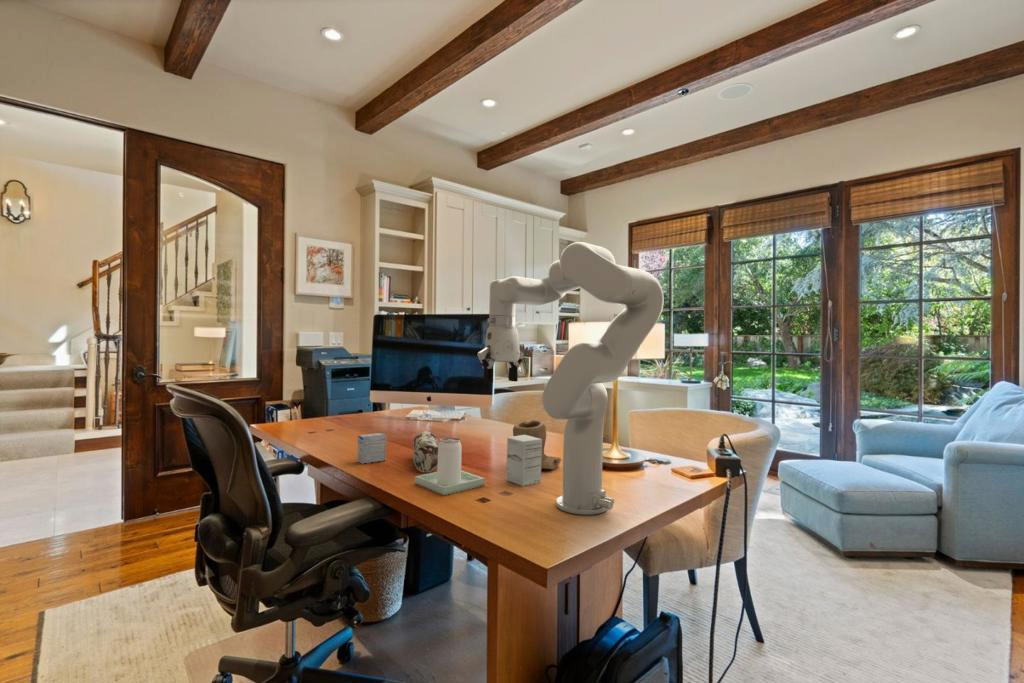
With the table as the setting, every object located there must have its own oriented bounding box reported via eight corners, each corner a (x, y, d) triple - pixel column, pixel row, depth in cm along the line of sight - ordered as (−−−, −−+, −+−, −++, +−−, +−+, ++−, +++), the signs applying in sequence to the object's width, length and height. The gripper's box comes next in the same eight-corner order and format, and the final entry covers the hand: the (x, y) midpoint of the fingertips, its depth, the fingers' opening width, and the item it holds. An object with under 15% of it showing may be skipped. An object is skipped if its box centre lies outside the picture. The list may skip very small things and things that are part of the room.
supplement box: (505, 480, 139) (506, 436, 139) (524, 476, 144) (525, 434, 144) (522, 487, 134) (523, 441, 134) (541, 482, 139) (542, 438, 139)
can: (462, 480, 137) (463, 437, 137) (458, 487, 130) (459, 442, 130) (440, 479, 137) (441, 437, 137) (434, 486, 131) (435, 441, 131)
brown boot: (506, 471, 150) (507, 422, 150) (515, 462, 161) (516, 416, 161) (555, 475, 146) (556, 425, 146) (561, 465, 158) (562, 419, 158)
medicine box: (379, 458, 163) (380, 432, 163) (385, 461, 159) (386, 434, 159) (357, 461, 157) (357, 435, 157) (362, 464, 154) (363, 437, 154)
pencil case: (440, 473, 146) (441, 441, 146) (412, 474, 145) (412, 441, 145) (437, 456, 168) (438, 427, 168) (412, 456, 166) (413, 428, 166)
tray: (484, 485, 134) (484, 478, 134) (444, 495, 125) (444, 487, 125) (454, 475, 144) (454, 468, 144) (415, 483, 135) (415, 476, 135)
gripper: (488, 321, 132) (486, 384, 132) (532, 323, 144) (531, 381, 144) (470, 321, 137) (469, 382, 137) (514, 324, 149) (513, 379, 149)
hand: (501, 381), depth 140 cm, fingers open, 9 cm apart
